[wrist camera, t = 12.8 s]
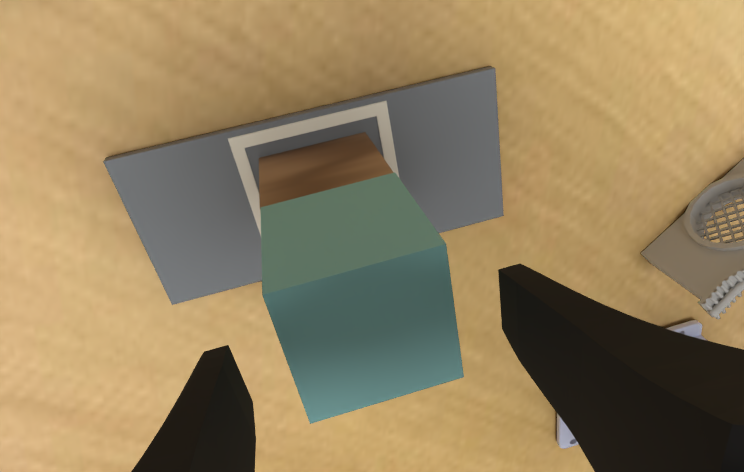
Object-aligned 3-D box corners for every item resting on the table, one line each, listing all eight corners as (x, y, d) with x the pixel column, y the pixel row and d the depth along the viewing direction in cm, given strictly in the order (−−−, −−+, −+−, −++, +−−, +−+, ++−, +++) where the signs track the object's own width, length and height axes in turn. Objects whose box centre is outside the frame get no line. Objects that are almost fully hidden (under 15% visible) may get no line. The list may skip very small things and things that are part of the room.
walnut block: (365, 132, 21) (394, 173, 16) (383, 225, 23) (413, 284, 18) (258, 157, 20) (259, 207, 16) (287, 250, 22) (295, 316, 18)
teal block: (395, 172, 16) (446, 243, 12) (414, 282, 18) (463, 377, 14) (260, 207, 16) (262, 295, 12) (297, 315, 18) (310, 423, 14)
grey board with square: (490, 66, 21) (496, 68, 20) (499, 211, 24) (504, 216, 24) (106, 157, 19) (102, 162, 19) (173, 298, 23) (171, 306, 22)
